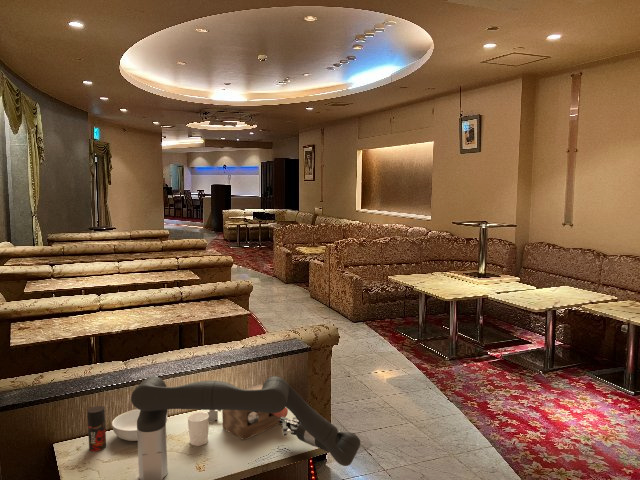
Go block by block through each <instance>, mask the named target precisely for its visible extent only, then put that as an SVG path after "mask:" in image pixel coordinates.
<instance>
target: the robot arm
mask: <svg viewBox="0 0 640 480" xmlns="http://www.w3.org/2000/svg"><path fill="white" fill-rule="evenodd" d="M262 385H263V387H262V389H259V390H245V389H246V388H240V387H238V386H235V385H234V384H232V383H229V382H226V381H223V380H199V381H195V382H190V383H187V384H183V385H178V386H167V384H166V382H165V381H164V379H162V378H161V377H159V376H155V375H154V376H153V375H152V376H149V377H147V378H145V379H144V380H143V381H142V382H140V384H138V385H137V386H136V387H135V388H134V390H133V391H132V392H131V396H130V403H131V404H132V405H133V407H134V408H136V409H139V410H140V414H139V417H138V419H137V439H138V440H137V458H138V478H139V480H163V479H164V478H165V477H166V476H167V475H168V473H169V472H168V450H167V449H168V447H167V422H166V416H167V415H168V410H202V411H203V410H204V411H208V410H221V411H222V410H246V411H255V412H263V413H278V412H280V411H282V410H283V409H284V408H285V407H286V408H287V409H288V411H289V412H291V413H292V414H293V416H294V417H292V418H290V417H289V418H288V417H280V418H279V423H280V424H281V425H282V434H283V436H284V437H285V436H286V437H287V435H288V434H291V435H292V436H296V437H297V439H298V440H299V441H302V442H304V443H305V444H308V445H309V446H312V447H315V448H318V449H320V450H323V451H325V452H326V453H327V452H328V453H329V454H330V455H331V456H332V457H333V459H334V460H335V461H336V462H337V464H338V465H340V466H343V467H348V466H350V465H351V464H352V463H353V461H354V458H355V457H356V455H357V453H358V451H359V449H360V448H361V440H360V438H359V436H357V434H355V433H353V432H350V431H338V428H337V427H336V426H335V425H334V424H332V423H331V422H330V421H329V420H328V419H326V418H325V417H323V416H322V415H321V414H320V413H318V411H316V410H315V409H314V408H313V407H312V406H310V405H309V403H307V401H306V400H304V399H303V397H302V396H301V395H299V393H298V392H297V391H296V390H295V389H294V388H293V387H292V386H291V385H290V384H289V383H288V382H287V381H286V380H285V379H284V378H283V377H280V376H276V375H275V376H270V377H268V378H267V379H265V381H264V382H263V384H262ZM167 417H168V416H167ZM280 424H279V425H280Z"/></svg>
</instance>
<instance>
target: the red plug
mask: <svg viewBox="0 0 640 480" xmlns="http://www.w3.org/2000/svg"><path fill="white" fill-rule="evenodd" d="M288 412H289V409H288V408H286V407H285V408H284V409H283V410H282V411H280V412H278V413H271V414H273V415H275V416H277V417H285V418H287V416H288Z"/></svg>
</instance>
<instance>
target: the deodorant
mask: <svg viewBox="0 0 640 480" xmlns="http://www.w3.org/2000/svg"><path fill="white" fill-rule="evenodd" d="M86 411H87V412H86V413H87V416H86V417H87V430H88V449H89V451H90V452H95V453H96V452H99V451H102V450H104V449H106V448H107V434H106V433H107V432H106V431H107V430H106V429H107V428H106V411H105V406H104V405H103V406H102V405H95V406H92V407H89V408H88V409H86Z"/></svg>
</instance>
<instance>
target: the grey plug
mask: <svg viewBox="0 0 640 480" xmlns="http://www.w3.org/2000/svg"><path fill="white" fill-rule="evenodd" d="M258 419H259V415H258V413H256V412H254V411H251V412H249V413H247V422H249V423H251V424H255V423H256V422H257V421H258Z"/></svg>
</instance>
